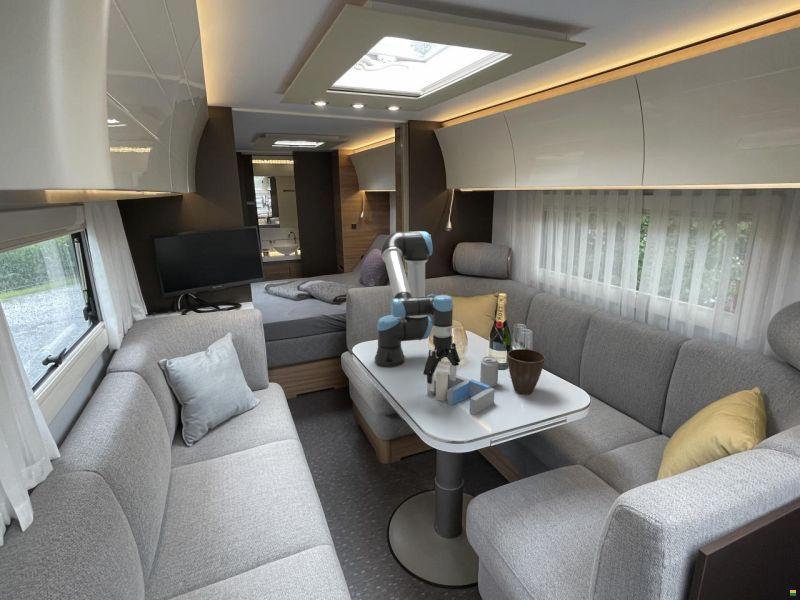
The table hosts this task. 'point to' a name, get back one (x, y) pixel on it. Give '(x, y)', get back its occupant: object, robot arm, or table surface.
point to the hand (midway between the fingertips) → (442, 385)
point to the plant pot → (525, 369)
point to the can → (489, 371)
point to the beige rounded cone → (441, 385)
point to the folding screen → (468, 393)
